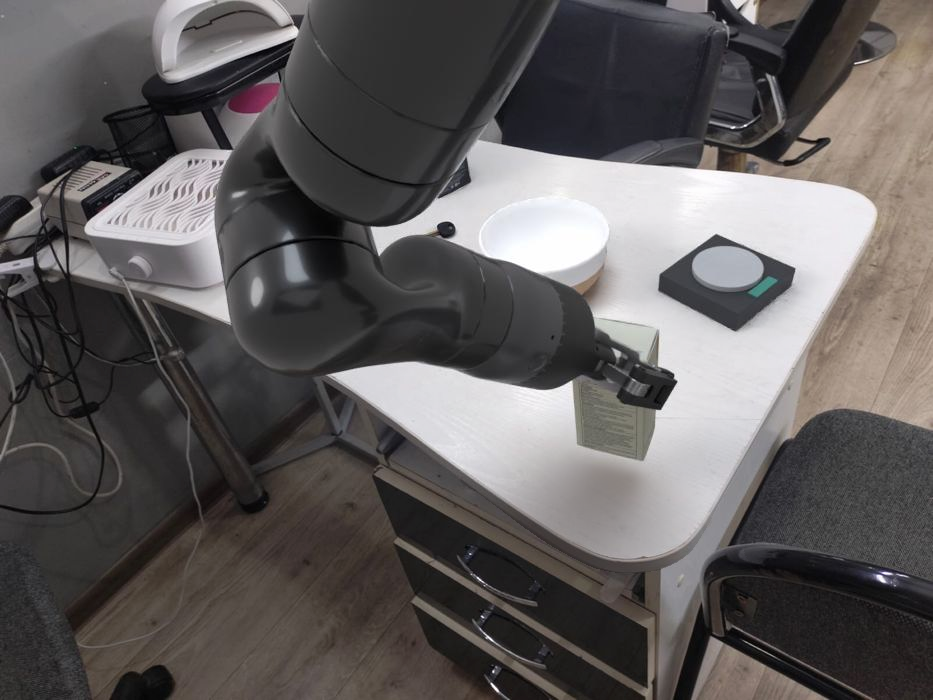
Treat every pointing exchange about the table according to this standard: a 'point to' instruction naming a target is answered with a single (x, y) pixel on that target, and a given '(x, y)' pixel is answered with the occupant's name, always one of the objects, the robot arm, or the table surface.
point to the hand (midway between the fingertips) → (627, 360)
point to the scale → (726, 281)
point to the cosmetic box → (617, 400)
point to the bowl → (550, 239)
